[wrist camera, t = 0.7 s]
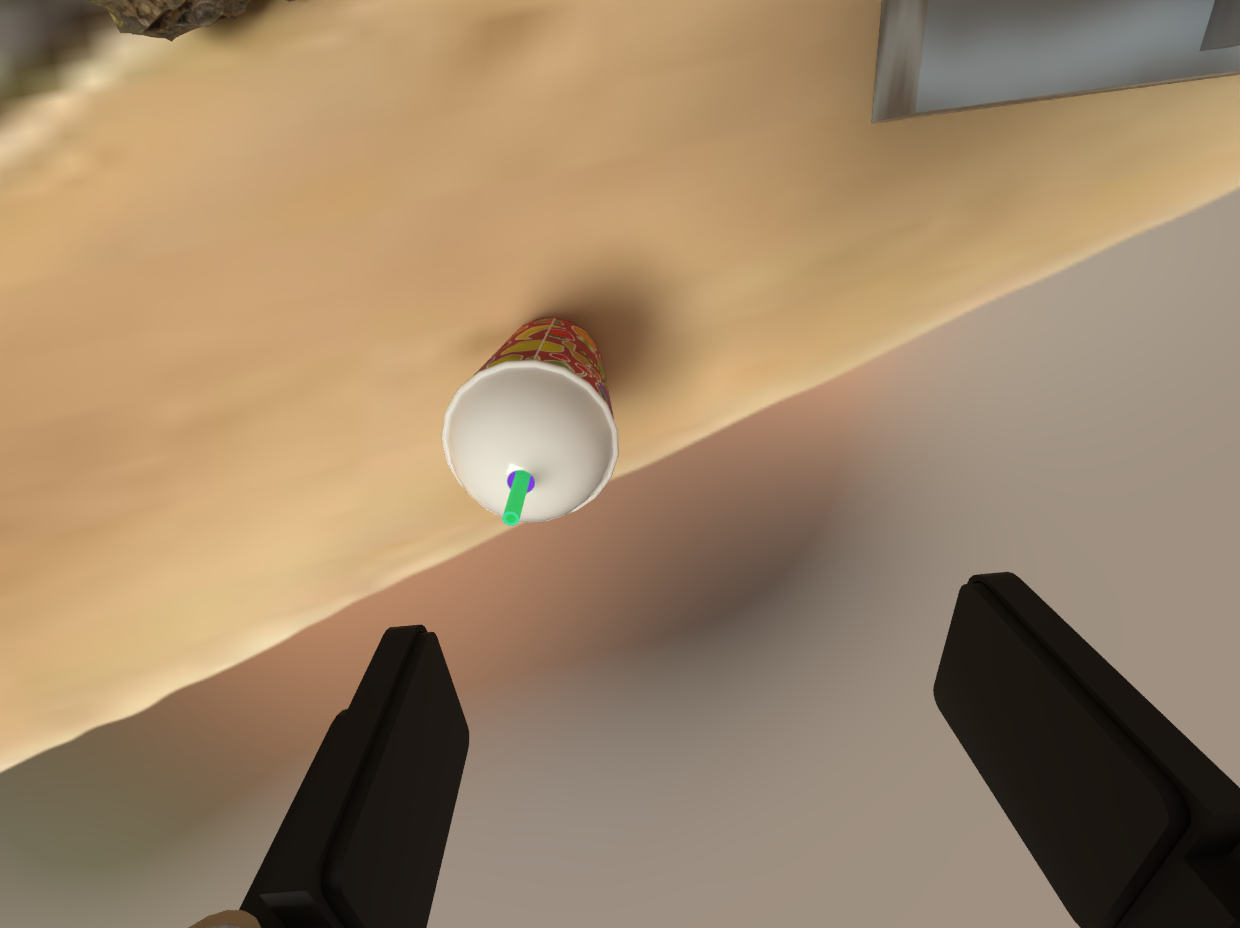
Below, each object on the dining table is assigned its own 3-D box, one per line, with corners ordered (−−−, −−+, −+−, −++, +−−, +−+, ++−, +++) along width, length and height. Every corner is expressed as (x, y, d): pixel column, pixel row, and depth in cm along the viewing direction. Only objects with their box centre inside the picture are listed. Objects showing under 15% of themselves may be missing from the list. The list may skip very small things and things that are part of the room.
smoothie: (616, 414, 40) (628, 597, 22) (504, 420, 40) (424, 610, 22) (609, 297, 36) (615, 407, 18) (485, 305, 36) (368, 422, 18)
